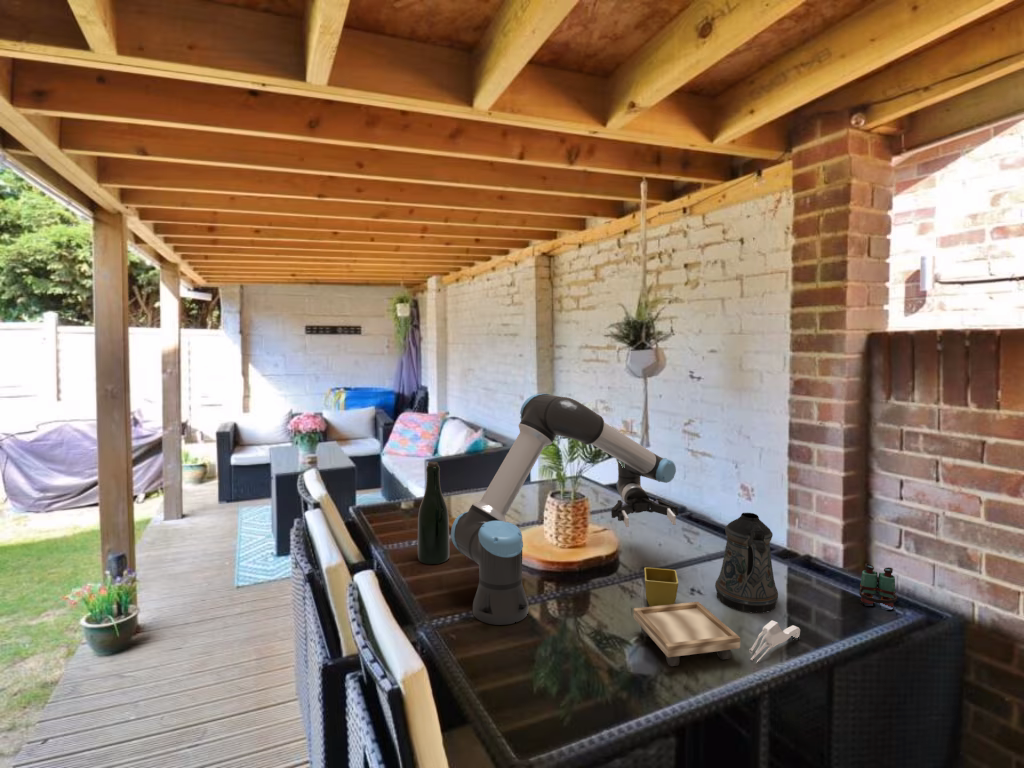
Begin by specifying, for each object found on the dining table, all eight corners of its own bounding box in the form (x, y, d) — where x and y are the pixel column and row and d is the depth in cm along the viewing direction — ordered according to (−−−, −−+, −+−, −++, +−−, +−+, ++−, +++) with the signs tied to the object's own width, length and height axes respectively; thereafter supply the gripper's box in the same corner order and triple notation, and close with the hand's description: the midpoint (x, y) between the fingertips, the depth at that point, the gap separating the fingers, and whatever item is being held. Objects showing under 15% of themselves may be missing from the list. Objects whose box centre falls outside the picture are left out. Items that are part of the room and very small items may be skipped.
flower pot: (677, 615, 151) (678, 583, 150) (644, 612, 153) (645, 580, 152) (674, 600, 159) (675, 569, 159) (643, 597, 161) (644, 567, 160)
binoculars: (861, 575, 154) (860, 559, 162) (858, 610, 156) (858, 593, 164) (900, 582, 149) (897, 566, 158) (897, 618, 151) (895, 600, 160)
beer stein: (746, 583, 171) (750, 503, 169) (800, 612, 153) (804, 523, 151) (702, 592, 165) (705, 508, 163) (753, 623, 147) (756, 530, 145)
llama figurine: (762, 686, 130) (802, 636, 139) (753, 648, 127) (794, 600, 136) (755, 682, 132) (795, 633, 141) (746, 645, 129) (787, 597, 137)
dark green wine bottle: (428, 568, 181) (427, 467, 178) (412, 558, 189) (411, 461, 186) (455, 560, 188) (455, 462, 185) (438, 550, 196) (438, 457, 193)
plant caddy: (667, 672, 125) (668, 646, 125) (633, 631, 143) (633, 608, 142) (739, 662, 129) (740, 637, 128) (697, 623, 146) (698, 601, 146)
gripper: (673, 507, 184) (694, 532, 163) (597, 510, 185) (608, 535, 164) (673, 485, 183) (693, 507, 162) (597, 488, 184) (607, 510, 163)
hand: (650, 521), depth 163 cm, fingers open, 13 cm apart
